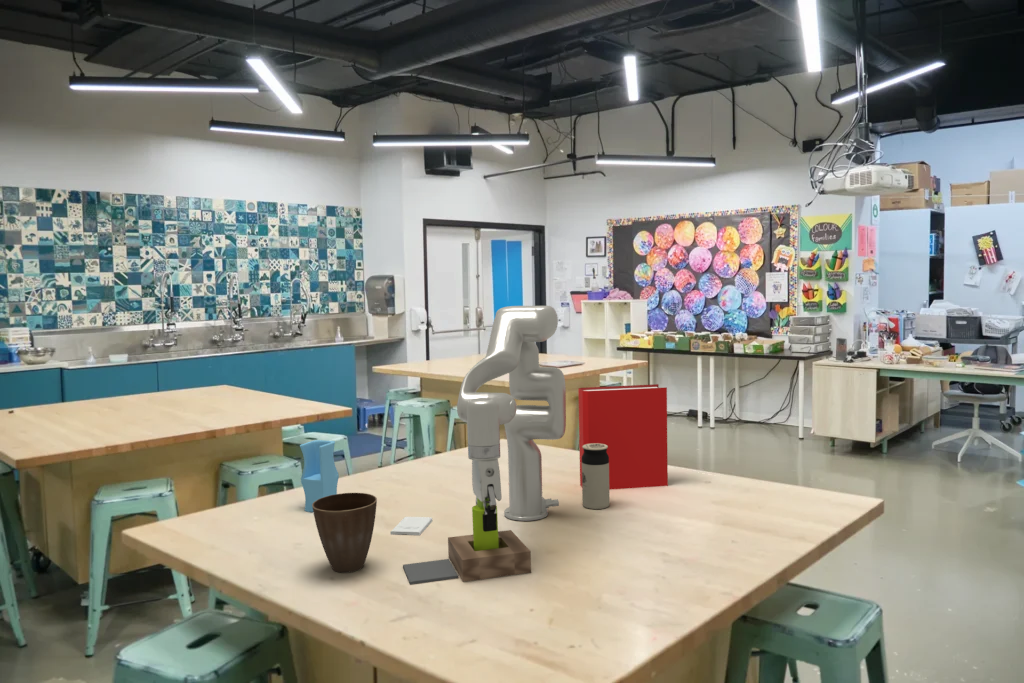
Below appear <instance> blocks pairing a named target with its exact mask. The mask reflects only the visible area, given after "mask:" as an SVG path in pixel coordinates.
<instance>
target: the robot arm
mask: <svg viewBox="0 0 1024 683" xmlns="http://www.w3.org/2000/svg"><path fill="white" fill-rule="evenodd" d="M558 323H559V317H558V313H557V311H556V309H555V308H554V307H553V306H552V305H551V306H550V305H511V306H510V305H509V306H504V307H501V308H499V309H498V310H497V311H496V312H495V317H494V319H493V322H492V327H491V331H490V335H489V341H488V347H487V350H486V355H484V357H483V358H482V359H480V360H478V362H477V363H476V364H475V365H473V367H471V369H470V370H469V371H468V372H467V373H466V374H465V376H464V377H463V379H462V381H461V384H460V385H461V386H460V388H459V389H460V390H459V393H458V398H457V404H456V412H457V416H458V418H459V420H460V421H461V422H463V423H466V424H467V425H466V427H467V431H466V432H467V453H468V459H469V460H471V482H472V492H473V495H474V496H475V505H477V498H478V499H479V500H480V501H481V502H483V509H484V514H483V531H484V532H487V531H495V530H497V518H498V511H497V512H496V506H497V501H498V502H500V501H501V500H502V483H501V472H500V471H501V470H500V466H499V465H500V464H499V459H500V458H501V434H500V433H501V432H500V430H501V429H500V425H501V426H502V425H503V426H504V429H505V430H504V431H505V435H506V442H507V456H508V458H507V460H508V463H507V464H508V466H507V467H508V494H509V495H508V496H509V498H508V499H509V504H508V505H509V506H508V507H506V509H504V510H503V512H504V513H503V515H504V517H505V518H507V519H509V520H512V521H519V522H526V521H527V522H529V521H530V522H531V521H537V520H541V519H544V518H546V517H548V515H549V510H548V509H549V508H550V507H558V506H560V501H559V499H552V498H544V497H543V469H542V467H543V466H542V461H543V460H542V453H541V450H540V448H539V446H538V445H537V443H536V442H535V441H534V440H547V441H550V440H552V441H553V440H554V441H555V440H560V439H562V438H563V437H564V435H565V432H566V430H567V429H566V428H567V427H566V426H567V424H566V423H567V413H566V412H567V406H566V405H567V402H566V401H567V399H566V398H567V397H566V396H567V395H566V393H567V392H566V391H567V390H566V388H567V387H566V378H565V375H564V372H563V371H562V370H561V369H560V368H558V367H554V366H540V362H539V361H540V358H539V354H540V350H539V348H538V346H537V344H536V343H540V342H541V343H542V342H545V341H547V340H548V339H550V338H551V337H553V335H555V333H556V332H557V328H558V325H559V324H558ZM505 375H508V384H509V385H508V387H509V393H510V394H509V393H507V392H479V391H478V390H479V388H481V387H482V386H483V385H484V384H486V383H488V382H490V381H492V380H495V379H498V378H500V377H503V376H505ZM477 391H478V392H477ZM516 400H519V401H534V402H535V401H538V402H539V401H541V402H542V401H543V402H544V401H545V402H546V403H547V404H548V405H537V404H536V405H533V404H520V405H519V404H518V405H517V402H516ZM486 498H489V501H486V500H485V499H486ZM486 504H489V505H488V506H486Z"/></svg>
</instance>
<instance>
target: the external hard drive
mask: <svg viewBox="0 0 1024 683" xmlns="http://www.w3.org/2000/svg"><path fill="white" fill-rule="evenodd" d="M432 522H433V517H431V516H430V517H429V516H427V517H425V516H404V517H403V518H402V519H401V520H400V521H399V523H397V525H395V527H393V529H392V530H391V531H390V535H391V536H392V535H395V536H421V535H422V533H423V532H424V531H425V530H426V529H427V527H429V526H430V524H432Z"/></svg>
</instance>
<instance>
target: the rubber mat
mask: <svg viewBox="0 0 1024 683" xmlns="http://www.w3.org/2000/svg"><path fill="white" fill-rule="evenodd" d="M402 568H403V571H404V573H405V576H406V578H407V582H408V583H409V585H415V584H424V583H430V582H431V583H433V582H439V581H446V580H455V579H459V574H458V573H457V571H456V569H455V568H454V566H453V564H452V562H451V561H450V559H449V558H446V559H436V560H430V561H429V560H428V561H420V562H413V563H405V564H402Z"/></svg>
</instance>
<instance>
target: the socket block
mask: <svg viewBox="0 0 1024 683" xmlns="http://www.w3.org/2000/svg"><path fill="white" fill-rule="evenodd" d="M498 541H499V548H497V549H489V550H481V551H474V540H473V534H466V535H458V536H449V537H447V547H448V555H447V556H448V559H449V561H450V562H451V564H452V566H453V567H454V569H455V571H456V572H457V574H458V577H460V580H461V581H462V582H471V581H478V580H484V579H485V580H486V579H493V578H499V577H500V578H501V577H507V576H515V575H522V574H523V575H524V574H529V573H530V574H531V573H532V560H531V559H532V557H531V556H532V555H531V552H532V551H531V550H530V549H529V548H528V547H527V546H526V545H525V543H524V542H523V541H522V540H521V539H520V538H519V537H518V536H517V535H516V534H515V533H514V531H512V530H511V529H508V530H500V531H499V530H498Z"/></svg>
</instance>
